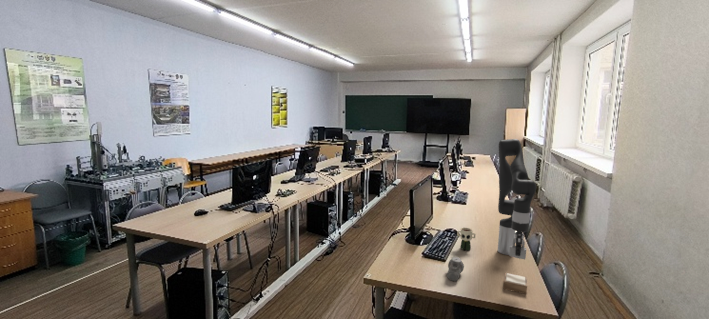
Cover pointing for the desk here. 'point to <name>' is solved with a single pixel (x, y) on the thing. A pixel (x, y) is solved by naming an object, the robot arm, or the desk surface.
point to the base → (515, 283)
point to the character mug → (466, 238)
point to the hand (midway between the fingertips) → (517, 253)
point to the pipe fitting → (455, 268)
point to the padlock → (513, 249)
